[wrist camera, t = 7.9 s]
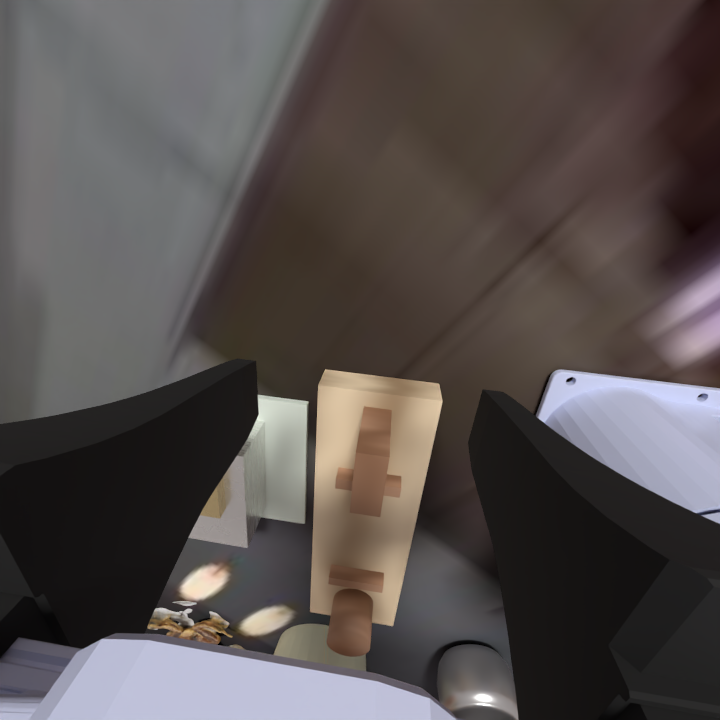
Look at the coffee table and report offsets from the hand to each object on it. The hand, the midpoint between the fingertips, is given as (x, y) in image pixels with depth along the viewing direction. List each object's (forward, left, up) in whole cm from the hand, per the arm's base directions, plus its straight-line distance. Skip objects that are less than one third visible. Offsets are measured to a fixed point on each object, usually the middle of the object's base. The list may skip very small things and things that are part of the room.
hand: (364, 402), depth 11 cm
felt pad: (+8, +12, -9) cm, 17 cm away
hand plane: (0, +15, -9) cm, 18 cm away
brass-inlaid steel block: (+9, +12, -9) cm, 18 cm away
